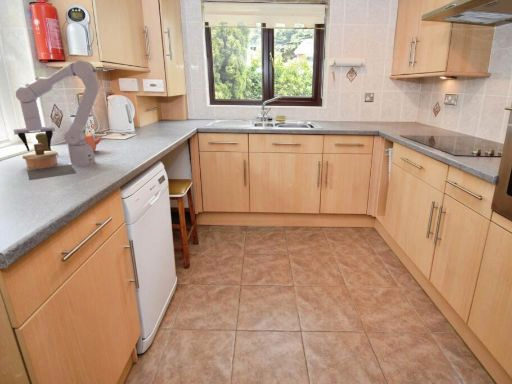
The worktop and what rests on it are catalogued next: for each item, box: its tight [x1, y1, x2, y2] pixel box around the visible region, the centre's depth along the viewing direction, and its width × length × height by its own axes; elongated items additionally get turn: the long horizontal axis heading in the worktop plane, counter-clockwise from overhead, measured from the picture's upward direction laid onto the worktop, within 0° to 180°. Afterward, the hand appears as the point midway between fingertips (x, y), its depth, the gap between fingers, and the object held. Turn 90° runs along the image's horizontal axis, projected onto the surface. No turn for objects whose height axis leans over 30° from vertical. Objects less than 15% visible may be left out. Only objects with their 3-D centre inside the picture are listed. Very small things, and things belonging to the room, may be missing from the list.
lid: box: [21, 143, 59, 160], centre depth 140 cm, size 13×13×5 cm
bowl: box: [24, 156, 58, 169], centre depth 142 cm, size 11×11×4 cm
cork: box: [35, 132, 53, 151], centre depth 160 cm, size 6×6×11 cm
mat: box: [26, 164, 77, 181], centre depth 133 cm, size 16×17×1 cm
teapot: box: [62, 133, 103, 152], centre depth 167 cm, size 14×12×10 cm
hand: (39, 149), depth 141 cm, fingers open, 7 cm apart
